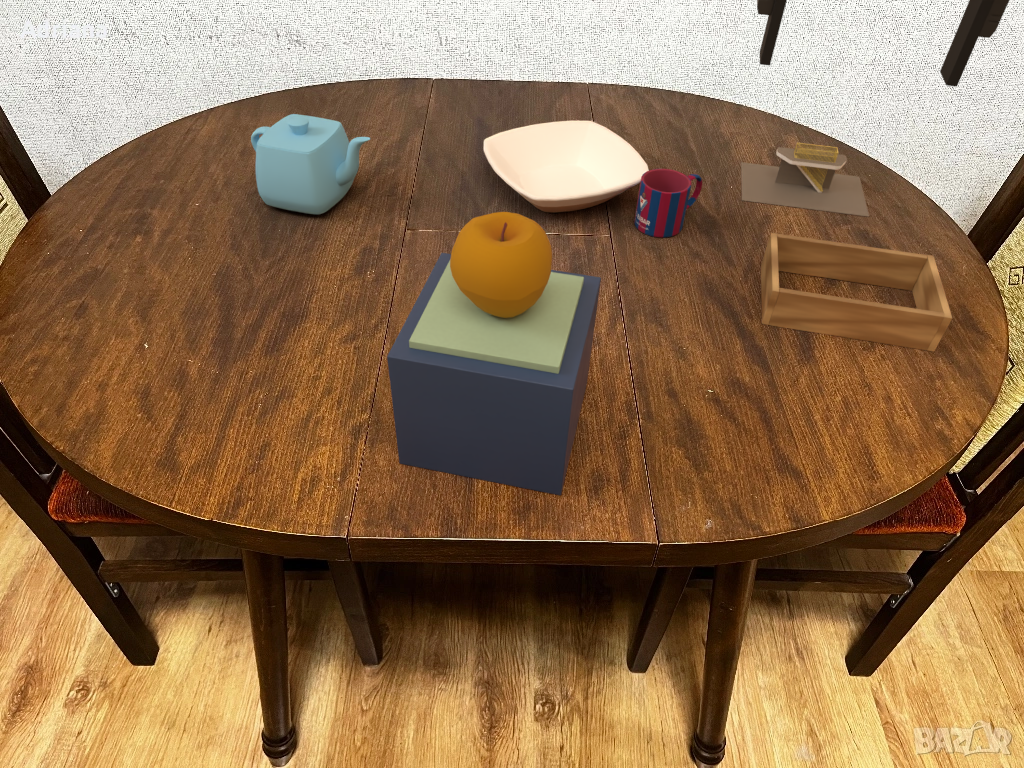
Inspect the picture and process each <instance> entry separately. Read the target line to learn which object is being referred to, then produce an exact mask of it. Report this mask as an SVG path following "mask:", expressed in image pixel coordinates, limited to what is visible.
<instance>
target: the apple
mask: <svg viewBox="0 0 1024 768" xmlns="http://www.w3.org/2000/svg"><path fill="white" fill-rule="evenodd" d="M552 249H553V247H552V245H551V242H550V240H549V238H548V235H547V232H546V231H545V230H544V229H543V227H542V226H541V225H540V224H539V223H538V222H536V220H534V219H531V218H530V217H527V216H524V215H522V214H520V213H516V212H509V211H497V212H492V213H486V214H483V215H479V216H475V217H473V218H471V219H470V220H469V221H468V222H467V223H465V224H464V226H463V227H462V228H461V230H459V232H458V234H457V236H456V239H455V242H454V244H453V247H452V249H451V253H450V254H451V259H450V268H451V272H452V276H453V278H454V280H455V282H456V284H457V285H458V287H459V289H460V291H461V292H463V293H464V294H465V295H466V296H467V297H468V298H469V299H470V300H471V301H472V302H473V303H474V304H475V305H476V306H477V307H478V308H480V309H481V310H483V311H484V312H486V313H489V314H491V315H494V316H498V317H503V318H511V317H515V316H517V315H519V314H522V313H523V312H525V311H526V310H527V309H529V308H530V307H532V306H533V305H534V304H535V303H536V302H537V300H538V299H539V298H540V297H541V295H542V293H543V291H544V289H545V287H546V285H547V283H548V280H549V277H550V274H551V270H552V263H553V250H552Z"/></svg>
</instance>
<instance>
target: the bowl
mask: <svg viewBox="0 0 1024 768" xmlns="http://www.w3.org/2000/svg"><path fill="white" fill-rule="evenodd" d="M483 153H484V155H485V158H486V160H487V162H488V164H489V165H490V167H491V168H492V170H493V171H494V172H495V174H497V176H499V177H500V179H501V180H503V181H504V182H505V183H506V184H507V185H508V186H509V187H510V188H511V189H513V190H514V191H515V192H516V193H518V194H519V195H520V196H521V197H522V198H524V199H525V200H526V201H527V202H529V203H530V204H531V205H532V206H533V207H535V208H536V209H538V210H539V211H541V212H543V213H565V212H574V211H580V210H584V209H589V208H593V207H596V206H598V205H601V204H604V203H606V202H609V200H612V199H613V198H615V197H617V196H619V195H622V193H624V192H626V191H628V190H629V189H632V188H633V187H635V186H637V185H638V184H640V182H641V176H642V175H643V174H644V173H645V172H647V171H649V170H650V169H649V166H648V163H647V162H646V161H645V160H644V158H643V157H642V156H641V154H640V153H639V152H638V151H637V150H636V148H634V147H633V146H632V144H630V143H629V142H628V141H626V140H625V138H623V137H621V136H620V135H618V133H615V132H614V131H612V130H610V129H609V128H607V127H606V126H603V125H602V124H599V123H597V122H594V121H593V120H560V121H550V122H543V123H535V124H530V125H526V126H525V125H524V126H521V127H516V128H511V129H508V130H503V131H501V132H497V133H495V134H493V135H491V136H489V137H486V138H485V139H483Z"/></svg>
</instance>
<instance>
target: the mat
mask: <svg viewBox="0 0 1024 768" xmlns="http://www.w3.org/2000/svg"><path fill="white" fill-rule="evenodd" d="M583 282H584V277H580V276H574V275H567V274H561V273H555V272H551V274H550V277H549V280H548V283H547V285H546V287H545V289H544V291H543V293H542V295H541V297H540V298H539V299H538V300H537V302H536V303H535V304H534V305H533V306H532V307H530V308H529V309H527V310H526V311H525V312H523V313H522V314H519V315H517V316H515V317H511V318H503V317H498V316H494V315H491V314H489V313H486V312H484V311H483V310H481V309H480V308H478V307H477V306H476V305H475V304H474V303H473V302H472V301H471V300H470V299H469V298H468V297H467V296H466V295H465V294H464V293H463V292H461V291H460V289H459V287H458V285H457V284H456V282H455V280H454V278H453V276H452V272H451V268H450V261H449V263H448V265H447V267H446V269H445V271H444V273H443V275H442V277H441V279H440V281H439V282H438V284H437V286H436V288H435V290H434V292H433V294H432V296H431V298H430V300H429V302H428V304H427V306H426V308H425V310H424V312H423V314H422V316H421V318H420V320H419V322H418V324H417V326H416V328H415V330H414V332H413V334H412V336H411V338H410V340H409V347H410V348H414V349H420V350H425V351H431V352H437V353H443V354H448V355H454V356H460V357H465V358H471V359H477V360H482V361H488V362H494V363H499V364H505V365H511V366H517V367H522V368H528V369H534V370H539V371H545V372H551V373H556V374H559V371H560V367H561V364H562V360H563V356H564V353H565V349H566V345H567V342H568V338H569V334H570V331H571V327H572V323H573V320H574V316H575V312H576V309H577V305H578V301H579V298H580V294H581V290H582V287H583Z"/></svg>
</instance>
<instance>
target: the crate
mask: <svg viewBox="0 0 1024 768" xmlns="http://www.w3.org/2000/svg"><path fill="white" fill-rule="evenodd" d="M450 259H451V253H447V252H441V253H440V255H439V256H438V258H437V261H436V262H435V264H434V266H433V268H432V270H431V272H430V273H429V276H428V278H427V280H426V282H425V283H424V285H423V287H422V289H421V290H420V293H419V295H418V297H417V298H416V300H415V303H414V304H413V305H412V308H411V310H410V312H409V314H408V315H407V317H406V319H405V321H404V323H403V325H402V327H401V329H400V331H399V332H398V335H397V336H396V339H395V341H394V342H393V345H392V346H391V348H390V350H389V352H388V354H387V356H386V360H387V368H388V376H389V386H390V394H391V401H392V403H391V404H392V411H393V419H394V420H393V421H394V428H395V437H396V445H397V454H398V463H399V464H400V465H405V466H410V467H416V468H421V469H425V470H431V471H436V472H439V473H444V474H445V473H446V474H451V475H456V476H460V477H466V478H471V479H476V480H479V481H480V480H481V481H486V482H492V483H495V484H501V485H506V486H512V487H516V488H522V489H526V490H531V491H536V492H541V493H546V494H552V495H556V496H562V494H563V489H564V485H565V482H566V481H565V480H566V476H567V471H568V467H569V463H570V460H571V454H572V451H573V446H574V442H575V437H576V433H577V428H578V424H579V419H580V414H581V410H582V406H583V403H584V398H585V394H586V389H587V385H588V380H589V371H590V364H591V356H592V351H593V350H592V349H593V341H594V334H595V327H596V319H597V312H598V306H599V305H598V303H599V298H600V297H599V296H600V289H601V281H602V277H600V276H594V275H588V274H583V273H574V272H569V271H562V270H555V269H551V272H555V273H561V274H567V275H574V276H580V277H584V282H583V287H582V290H581V294H580V298H579V301H578V305H577V309H576V312H575V316H574V320H573V323H572V327H571V331H570V334H569V338H568V342H567V345H566V349H565V353H564V356H563V360H562V364H561V367H560V371H559V374H556V373H551V372H545V371H539V370H534V369H528V368H522V367H517V366H511V365H505V364H499V363H494V362H488V361H482V360H477V359H471V358H465V357H460V356H454V355H448V354H443V353H437V352H431V351H425V350H420V349H414V348H410V347H409V340H410V338H411V336H412V334H413V332H414V330H415V328H416V326H417V324H418V322H419V320H420V318H421V316H422V314H423V312H424V310H425V308H426V306H427V304H428V302H429V300H430V298H431V296H432V294H433V292H434V290H435V288H436V286H437V284H438V282H439V281H440V279H441V277H442V275H443V273H444V271H445V269H446V267H447V265H448V263H449V261H450Z"/></svg>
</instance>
